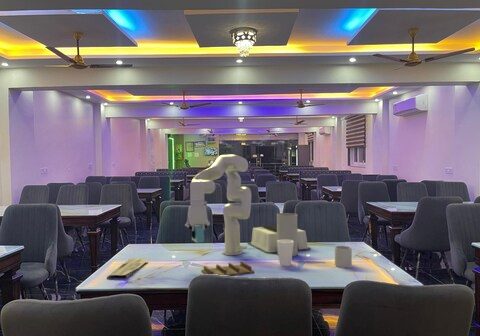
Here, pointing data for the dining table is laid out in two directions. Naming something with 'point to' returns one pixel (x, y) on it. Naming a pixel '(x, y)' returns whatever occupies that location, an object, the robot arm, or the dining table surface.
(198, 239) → the block
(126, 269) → the newspaper
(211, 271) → the rack
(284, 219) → the cylinder vase
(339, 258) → the mug
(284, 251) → the foam cup
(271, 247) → the cake box
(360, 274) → the dining table surface
